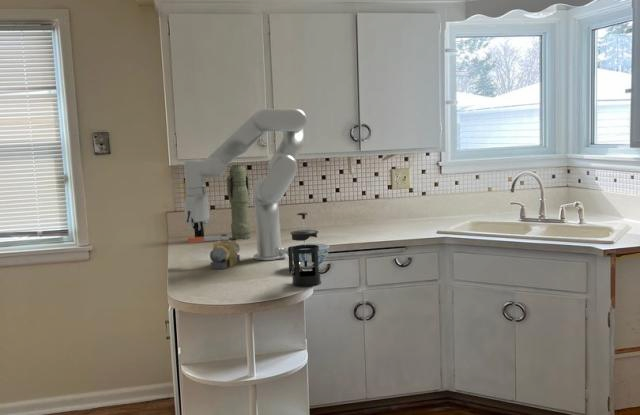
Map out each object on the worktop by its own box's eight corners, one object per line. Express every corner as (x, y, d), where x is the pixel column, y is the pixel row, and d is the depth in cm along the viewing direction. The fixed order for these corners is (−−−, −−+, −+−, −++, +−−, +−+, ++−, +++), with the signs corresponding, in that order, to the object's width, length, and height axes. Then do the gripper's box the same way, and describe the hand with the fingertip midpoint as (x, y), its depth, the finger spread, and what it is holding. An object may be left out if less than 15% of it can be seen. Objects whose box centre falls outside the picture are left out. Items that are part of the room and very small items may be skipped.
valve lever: (229, 239, 245) (229, 233, 245) (228, 241, 241) (228, 234, 241) (189, 241, 245) (189, 235, 245) (187, 242, 241) (187, 236, 241)
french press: (328, 282, 208) (325, 211, 205) (310, 288, 200) (307, 215, 198) (300, 278, 215) (297, 210, 212) (282, 284, 207) (278, 213, 205)
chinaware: (294, 274, 223) (293, 252, 222) (284, 266, 237) (283, 245, 236) (335, 269, 227) (334, 248, 226) (323, 262, 241) (322, 242, 240)
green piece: (225, 239, 307) (221, 166, 304) (244, 235, 316) (239, 164, 312) (238, 240, 302) (233, 166, 298) (256, 237, 311) (252, 164, 307)
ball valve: (242, 260, 251) (240, 238, 250) (225, 269, 236) (223, 245, 235) (226, 260, 253) (225, 238, 252) (208, 269, 238) (207, 245, 237)
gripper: (200, 190, 253) (203, 236, 255) (175, 194, 239) (179, 242, 241) (216, 190, 249) (219, 236, 251) (191, 194, 236) (195, 243, 238)
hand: (199, 239), depth 246 cm, fingers closed
